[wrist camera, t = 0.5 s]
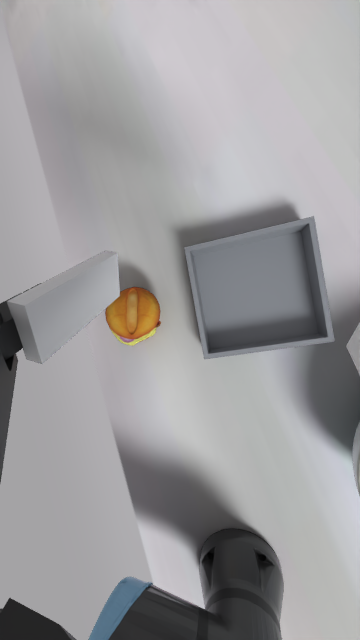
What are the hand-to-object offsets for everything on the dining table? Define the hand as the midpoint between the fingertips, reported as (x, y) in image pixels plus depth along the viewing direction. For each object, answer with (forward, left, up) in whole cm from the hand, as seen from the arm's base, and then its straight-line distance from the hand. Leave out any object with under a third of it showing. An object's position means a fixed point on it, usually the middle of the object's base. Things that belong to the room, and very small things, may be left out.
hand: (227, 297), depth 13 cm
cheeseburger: (+1, +18, -32) cm, 37 cm away
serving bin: (+1, -4, -32) cm, 33 cm away
